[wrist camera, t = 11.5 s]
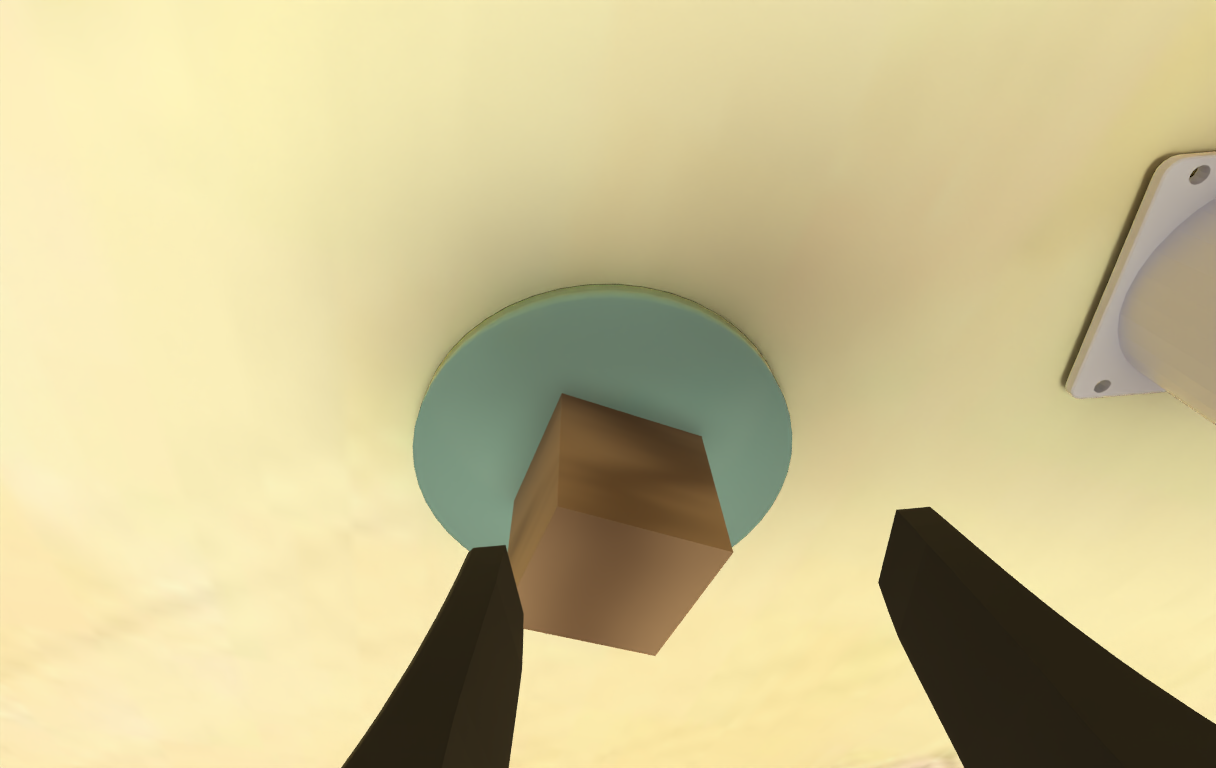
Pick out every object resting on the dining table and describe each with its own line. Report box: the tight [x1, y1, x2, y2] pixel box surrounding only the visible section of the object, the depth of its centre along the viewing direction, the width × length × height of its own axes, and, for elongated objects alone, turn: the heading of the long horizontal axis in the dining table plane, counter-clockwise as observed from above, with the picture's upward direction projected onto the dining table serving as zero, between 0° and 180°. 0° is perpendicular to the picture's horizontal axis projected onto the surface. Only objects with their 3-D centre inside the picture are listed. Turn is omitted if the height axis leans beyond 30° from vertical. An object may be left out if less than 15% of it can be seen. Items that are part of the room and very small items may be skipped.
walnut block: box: [508, 393, 733, 656], centre depth 19 cm, size 5×5×5 cm
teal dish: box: [413, 284, 792, 552], centre depth 21 cm, size 13×13×1 cm
